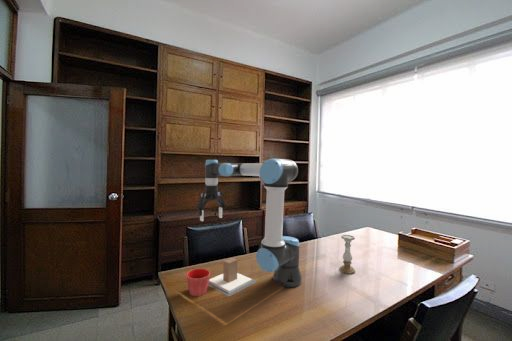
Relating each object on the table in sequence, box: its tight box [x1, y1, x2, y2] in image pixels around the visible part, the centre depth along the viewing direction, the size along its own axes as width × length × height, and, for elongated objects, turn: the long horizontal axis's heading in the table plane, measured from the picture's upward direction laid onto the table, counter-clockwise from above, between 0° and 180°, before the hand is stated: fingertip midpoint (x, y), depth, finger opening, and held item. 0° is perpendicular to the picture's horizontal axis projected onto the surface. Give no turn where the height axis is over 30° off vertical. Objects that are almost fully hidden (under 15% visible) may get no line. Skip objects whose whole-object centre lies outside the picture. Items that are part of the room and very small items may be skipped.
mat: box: [208, 273, 258, 297], centre depth 127 cm, size 20×20×1 cm
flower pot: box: [186, 268, 211, 297], centre depth 117 cm, size 11×11×10 cm
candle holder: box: [338, 234, 356, 275], centre depth 144 cm, size 9×9×20 cm
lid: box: [209, 257, 253, 293], centre depth 127 cm, size 16×16×11 cm
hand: (211, 219), depth 151 cm, fingers open, 13 cm apart
